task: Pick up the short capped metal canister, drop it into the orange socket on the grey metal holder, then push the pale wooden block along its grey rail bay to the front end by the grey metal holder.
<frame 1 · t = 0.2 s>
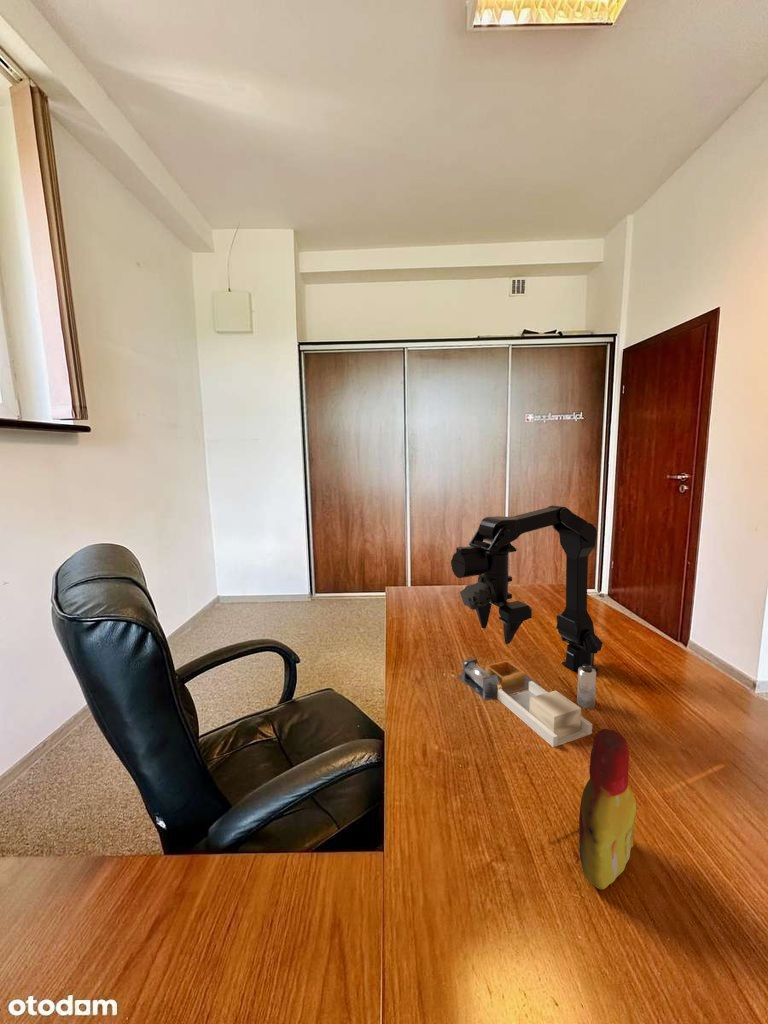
hand: (495, 635, 97), 14 cm above the table, fingers open, 9 cm apart
pale wooden block: (553, 713, 86), point 3 cm above the table, slide at 8.0 cm
bay: (541, 716, 89), on the table
capped metal canister: (585, 705, 93), on the table
bottle: (603, 863, 57), on the table
grey metal holder: (498, 681, 103), on the table
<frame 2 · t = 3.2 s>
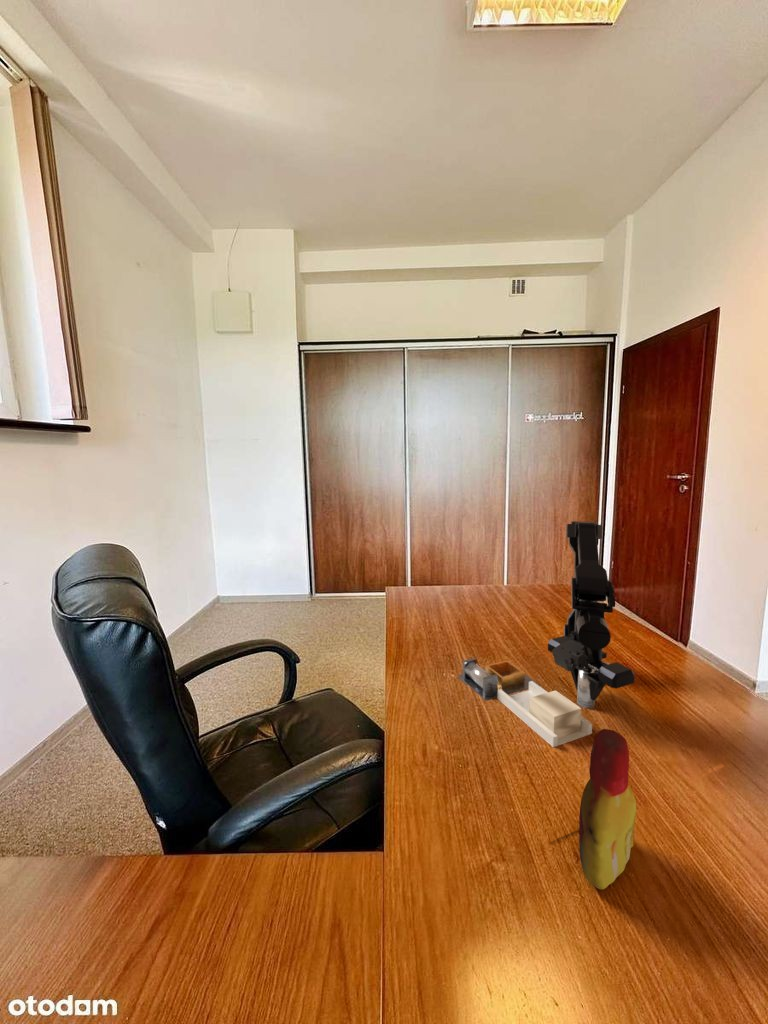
hand: (586, 695, 92), 3 cm above the table, fingers closed on capped metal canister, 4 cm apart
capped metal canister: (585, 705, 93), on the table, touching gripper
everything else where it was.
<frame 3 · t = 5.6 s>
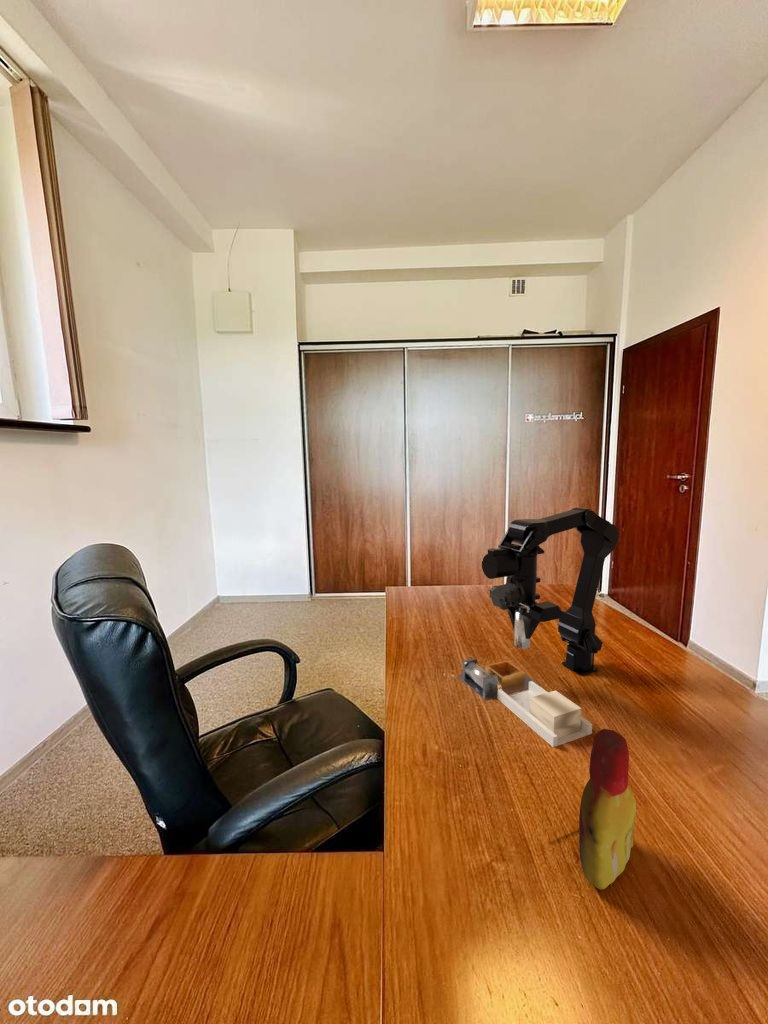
hand: (522, 635, 99), 13 cm above the table, fingers closed on capped metal canister, 4 cm apart
capped metal canister: (521, 645, 100), point 11 cm above the table, touching gripper
everything else where it was.
when the fingers open (4 cm above the table, at t = 8.4 s): capped metal canister stays where it is, resting on grey metal holder.
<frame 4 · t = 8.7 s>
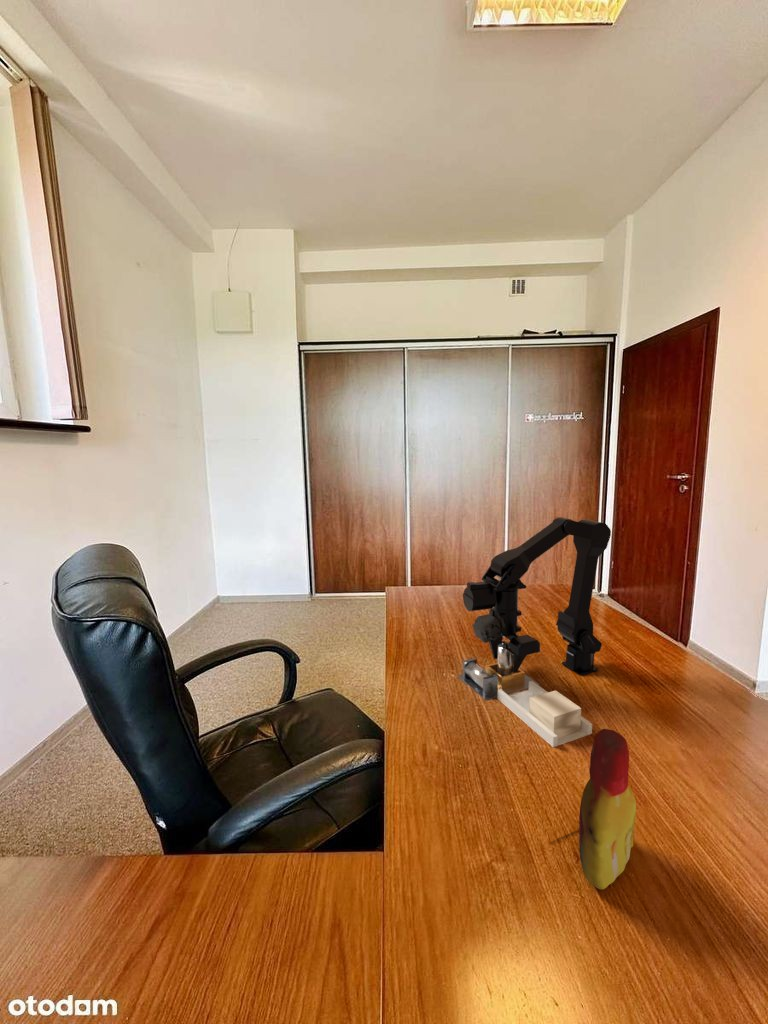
hand: (504, 665, 103), 4 cm above the table, fingers open, 7 cm apart
capped metal canister: (504, 678, 104), point 1 cm above the table, touching grey metal holder
everything else where it was.
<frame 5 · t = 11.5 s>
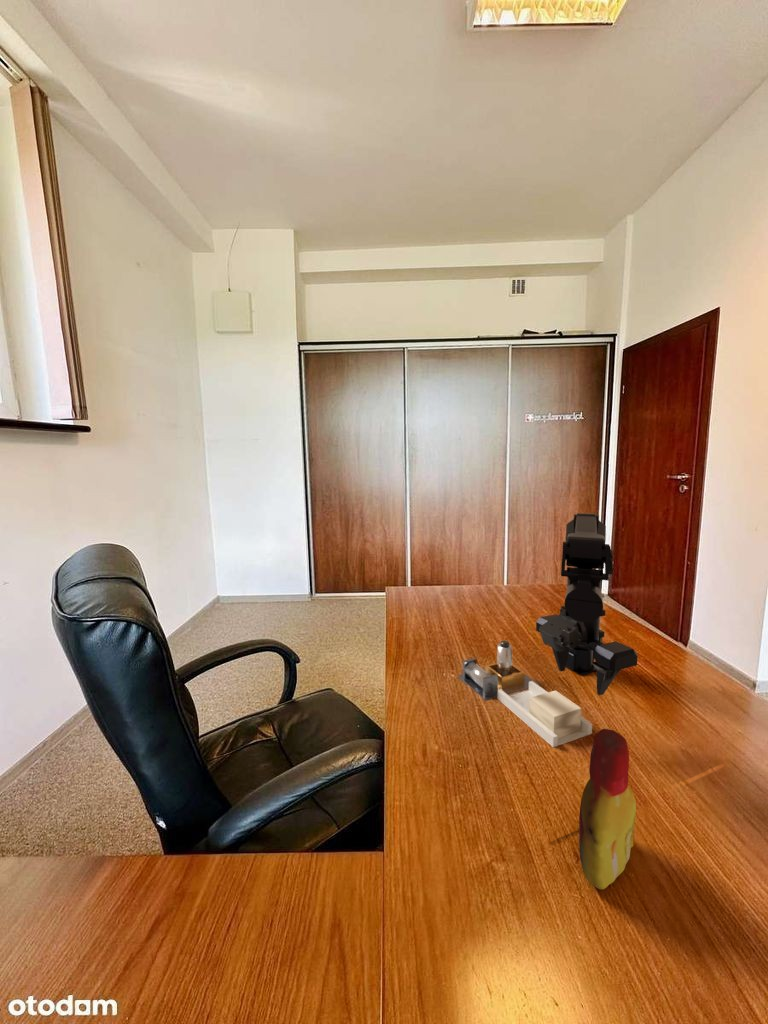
hand: (580, 682, 78), 14 cm above the table, fingers open, 9 cm apart
nothing on the table moved.
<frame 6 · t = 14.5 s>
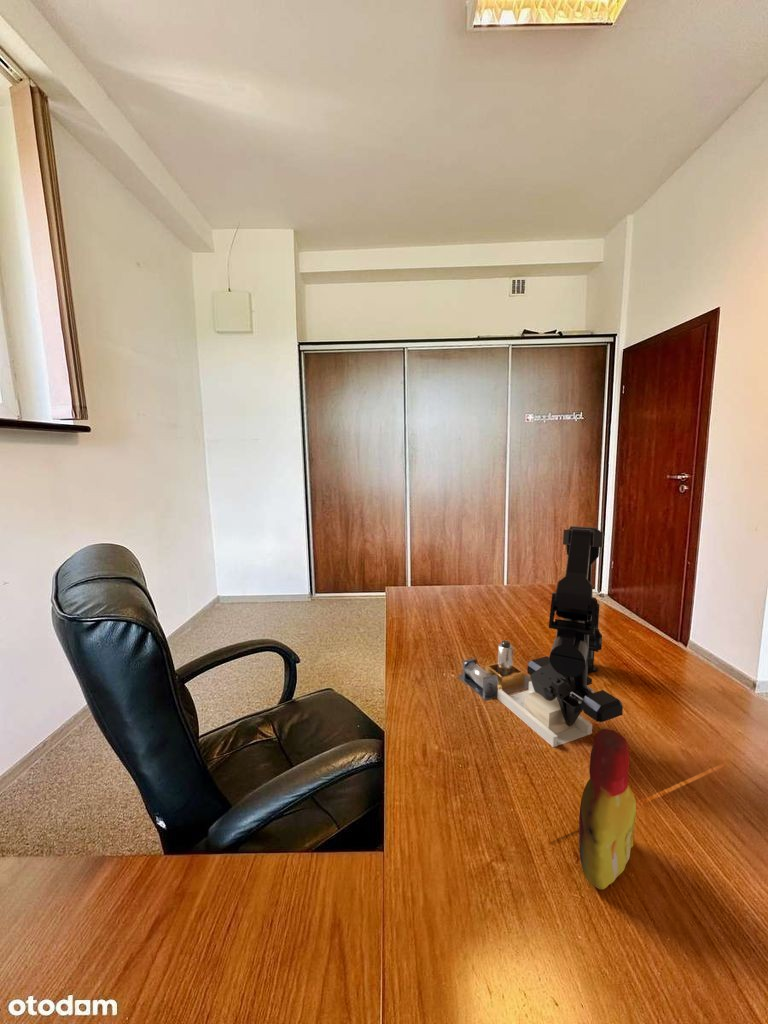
hand: (569, 725, 82), 3 cm above the table, fingers closed
pale wooden block: (548, 709, 87), point 3 cm above the table, slide at 6.7 cm, touching gripper
everything else where it was.
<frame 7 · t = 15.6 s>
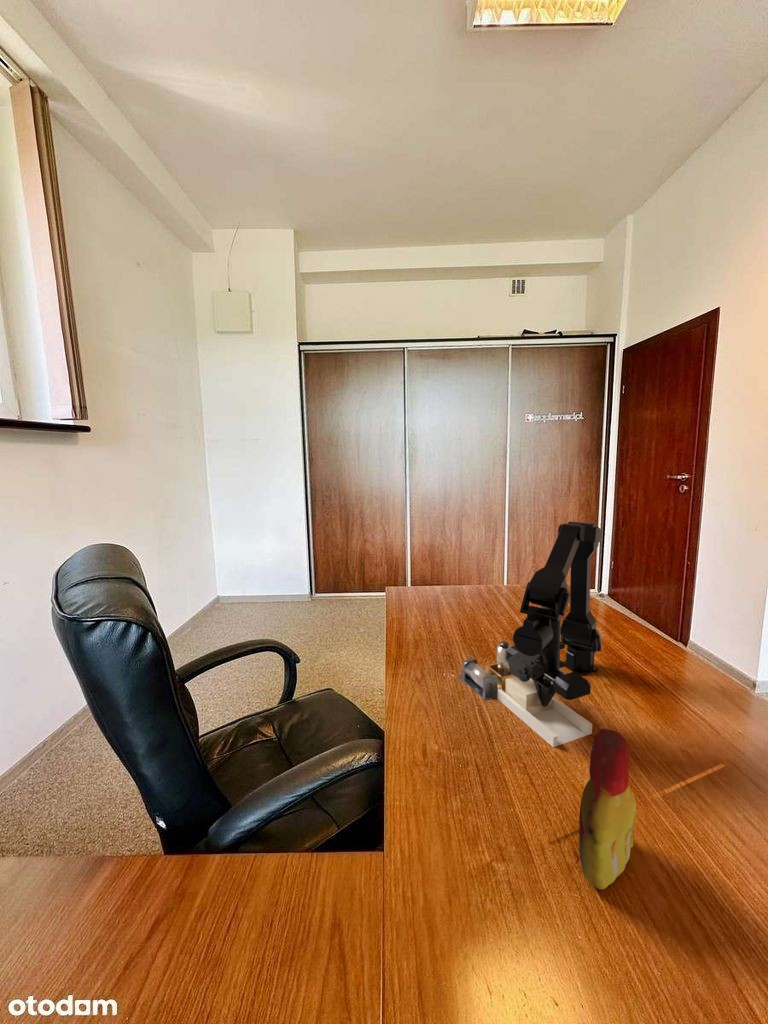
hand: (544, 705, 88), 3 cm above the table, fingers closed
pale wooden block: (527, 693, 93), point 3 cm above the table, slide at -0.1 cm, touching gripper
everything else where it was.
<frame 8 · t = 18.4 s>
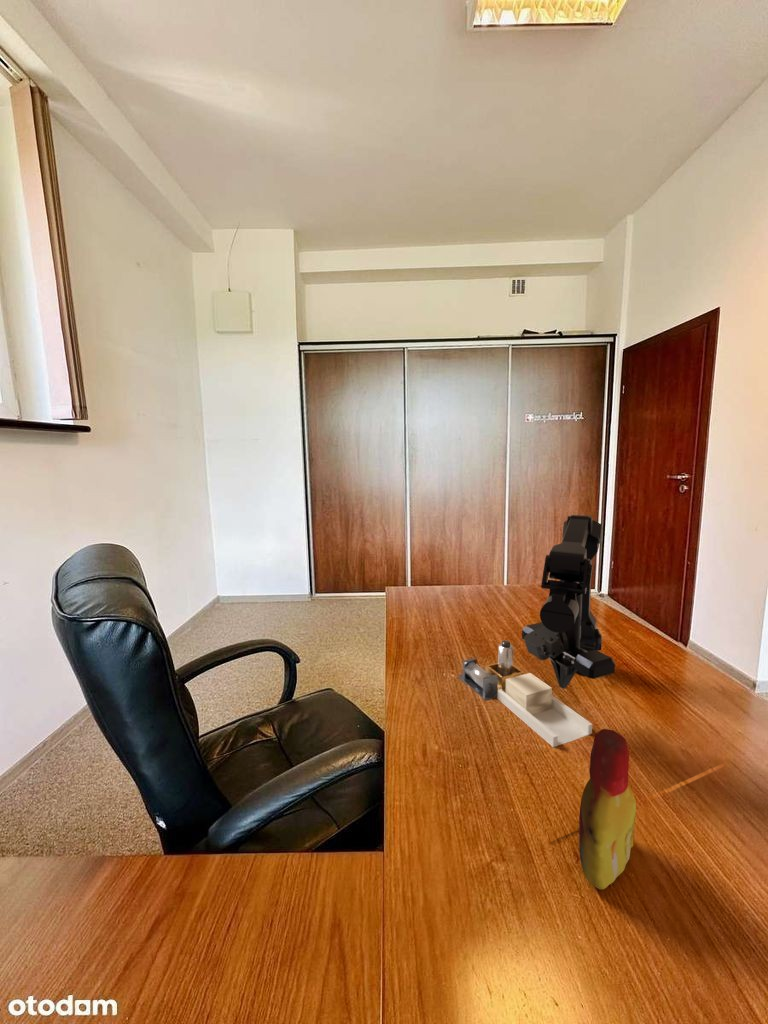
hand: (562, 687, 82), 10 cm above the table, fingers closed
pale wooden block: (527, 693, 93), point 3 cm above the table, slide at 0.0 cm
everything else where it was.
at the end: capped metal canister 0.0 cm from the target spot on the grey metal holder, point 0.6 cm above the grey metal holder's base; capped metal canister tilted 2°; pale wooden block slide at 0.0 cm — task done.
